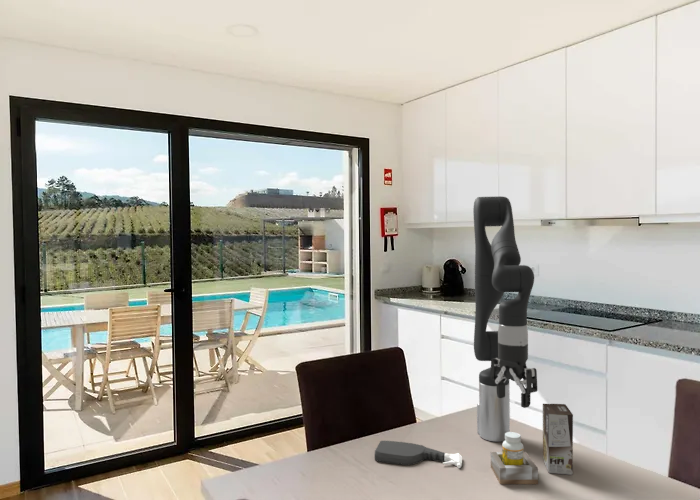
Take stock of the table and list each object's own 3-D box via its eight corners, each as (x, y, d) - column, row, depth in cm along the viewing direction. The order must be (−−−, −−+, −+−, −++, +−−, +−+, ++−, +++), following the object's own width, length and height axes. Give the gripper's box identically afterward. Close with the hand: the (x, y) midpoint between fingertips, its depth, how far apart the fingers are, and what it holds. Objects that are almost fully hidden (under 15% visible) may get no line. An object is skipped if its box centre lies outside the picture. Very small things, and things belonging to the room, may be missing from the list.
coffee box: (573, 475, 135) (573, 414, 135) (548, 473, 137) (547, 413, 136) (566, 460, 144) (566, 403, 144) (542, 458, 146) (542, 402, 145)
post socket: (500, 484, 131) (499, 468, 131) (490, 467, 141) (490, 452, 141) (537, 484, 131) (537, 467, 131) (526, 467, 141) (526, 451, 140)
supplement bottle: (522, 476, 133) (522, 440, 132) (501, 473, 135) (500, 437, 134) (524, 467, 138) (524, 432, 137) (503, 464, 140) (503, 429, 139)
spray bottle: (380, 447, 156) (463, 457, 149) (372, 463, 145) (461, 474, 139) (380, 438, 156) (463, 447, 149) (372, 453, 145) (461, 463, 138)
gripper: (483, 337, 139) (483, 396, 140) (523, 348, 127) (523, 413, 127) (503, 334, 143) (504, 392, 143) (544, 344, 130) (544, 407, 131)
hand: (513, 402), depth 135 cm, fingers open, 8 cm apart
